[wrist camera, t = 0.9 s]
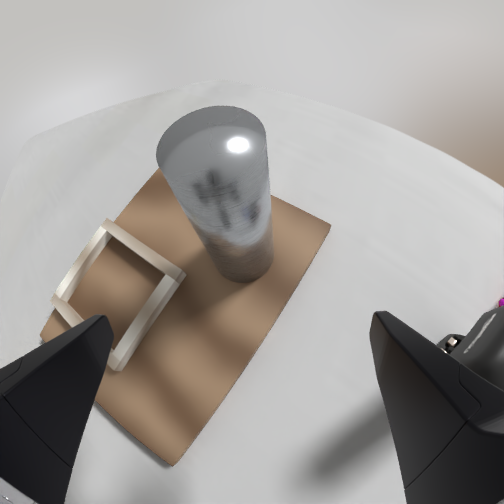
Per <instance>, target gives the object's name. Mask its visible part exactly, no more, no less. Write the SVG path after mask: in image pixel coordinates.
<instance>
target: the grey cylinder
mask: <svg viewBox="0 0 504 504" xmlns="http://www.w3.org/2000/svg"><path fill="white" fill-rule="evenodd" d="M156 158H157V163H158V166H159V168H160V169H161V171H162V173H163V175H164V177H165V179H166V180H167V182H168V184H169V186H170V188H171V189H172V191H173V193H174V195H175V197H176V198H177V200H178V202H179V204H180V206H181V207H182V209H183V211H184V213H185V214H186V216H187V218H188V220H189V222H190V223H191V225H192V227H193V229H194V230H195V232H196V234H197V235H198V237H199V239H200V241H201V242H202V244H203V246H204V248H205V249H206V251H207V253H208V254H209V256H210V258H211V259H212V261H213V263H214V265H215V266H216V268H217V270H218V271H219V272H220V274H221V275H222V276H224V277H225V278H227V279H228V280H231V281H233V282H238V283H247V282H251V281H254V280H257V279H259V278H260V277H262V276H263V275H264V274H265V273H266V272H267V271H268V270H269V269H270V267H271V265H272V263H273V259H274V241H273V225H272V210H271V196H270V182H269V169H268V156H267V143H266V132H265V129H264V126H263V124H262V123H261V121H260V120H259V119H258V118H257V117H256V116H255V115H253V114H252V113H250V112H248V111H246V110H244V109H241V108H237V107H232V106H212V107H207V108H202V109H199V110H196V111H194V112H191V113H189V114H187V115H185V116H183V117H182V118H180V119H179V120H177V121H176V122H175V123H173V124H172V125H171V126H170V127H169V128H168V129H167V130H166V132H165V133H164V134H163V136H162V137H161V139H160V141H159V144H158V147H157V151H156Z"/></svg>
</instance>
